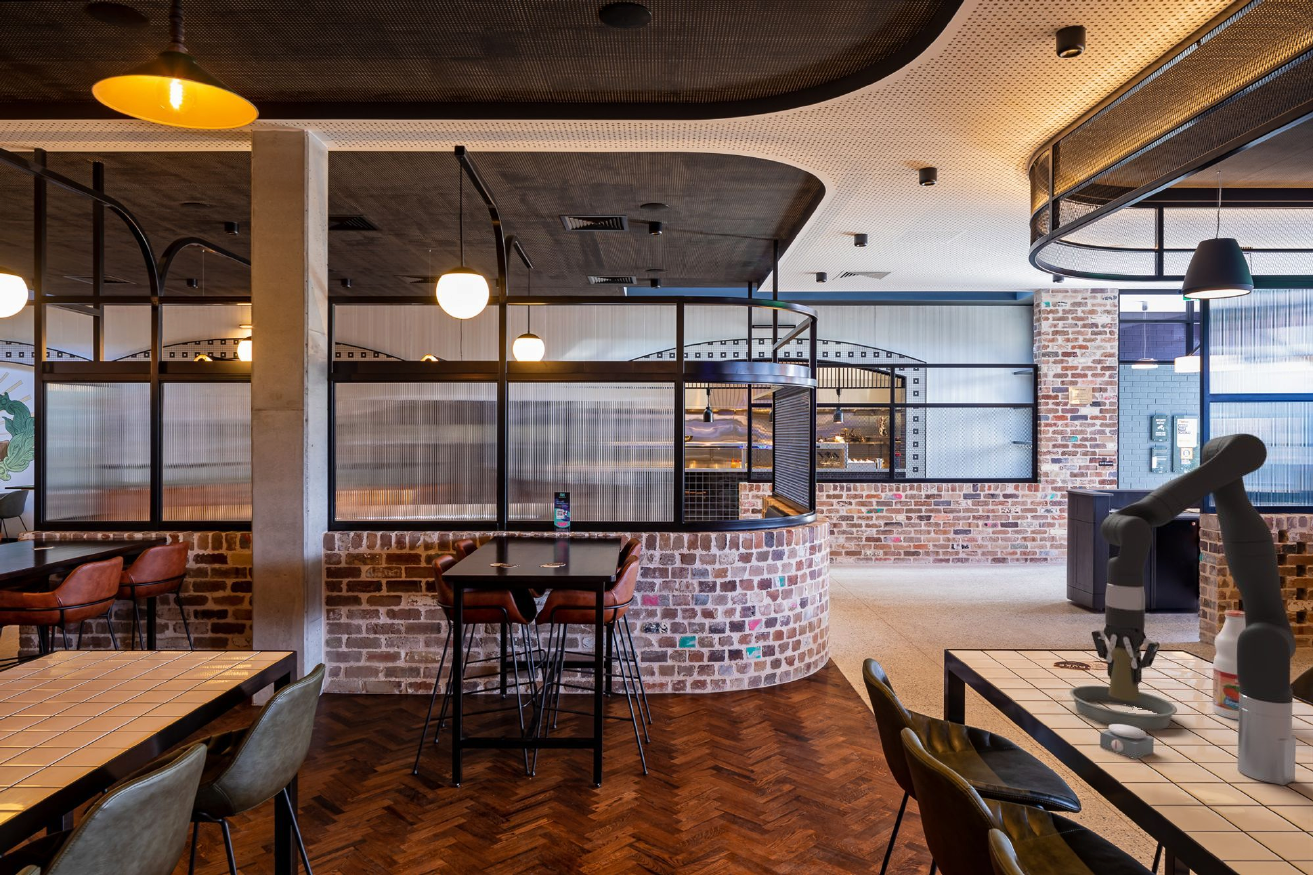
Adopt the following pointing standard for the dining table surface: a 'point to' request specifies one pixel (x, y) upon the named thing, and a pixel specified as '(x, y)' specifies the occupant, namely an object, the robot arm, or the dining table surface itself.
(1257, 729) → the robot arm
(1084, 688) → the cake pan
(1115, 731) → the scale
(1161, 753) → the dining table surface
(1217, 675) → the fruit juice
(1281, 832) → the dining table surface
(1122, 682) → the olive pepper mill
